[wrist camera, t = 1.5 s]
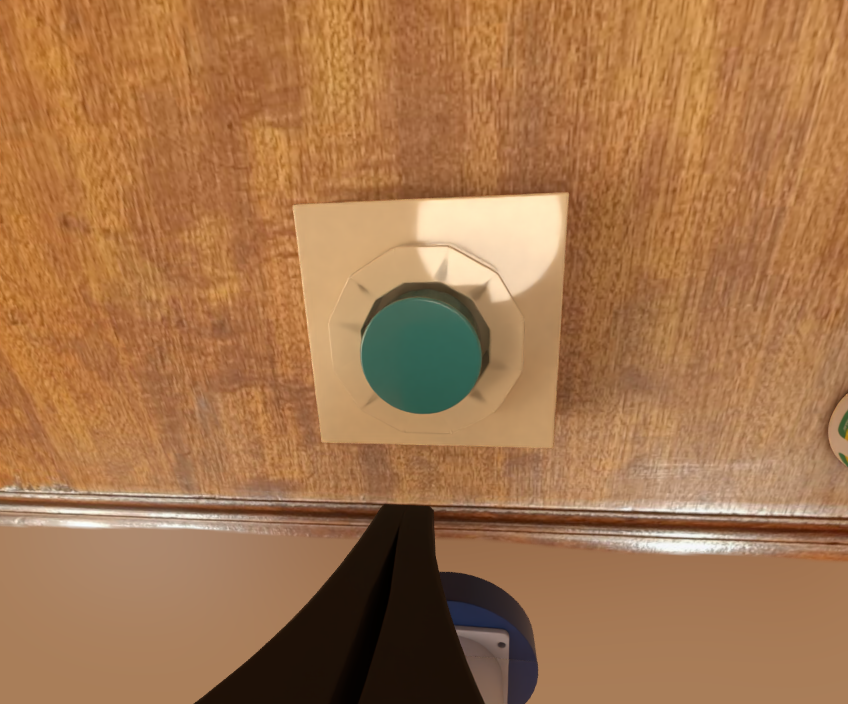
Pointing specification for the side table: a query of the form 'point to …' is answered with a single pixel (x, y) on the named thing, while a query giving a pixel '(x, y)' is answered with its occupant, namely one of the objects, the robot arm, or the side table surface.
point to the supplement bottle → (839, 431)
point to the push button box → (455, 275)
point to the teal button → (422, 352)
